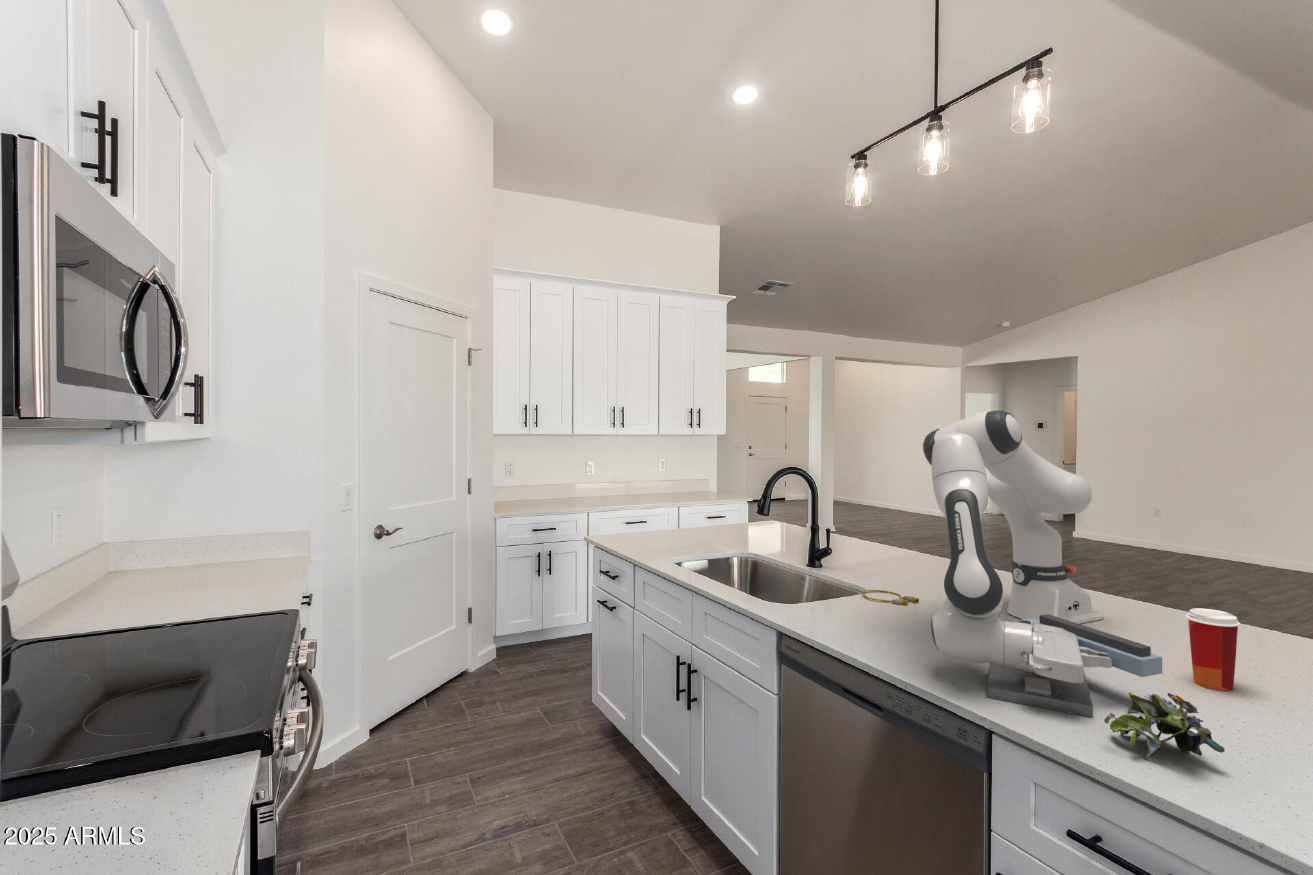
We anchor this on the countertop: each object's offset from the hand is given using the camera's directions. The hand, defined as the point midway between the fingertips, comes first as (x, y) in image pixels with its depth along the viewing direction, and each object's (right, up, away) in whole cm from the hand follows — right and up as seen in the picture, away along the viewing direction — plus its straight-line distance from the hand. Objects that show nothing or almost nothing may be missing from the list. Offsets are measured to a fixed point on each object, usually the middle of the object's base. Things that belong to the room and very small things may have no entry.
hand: (1111, 660), depth 108 cm
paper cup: (+25, -8, +7) cm, 27 cm away
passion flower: (-5, -8, -17) cm, 19 cm away
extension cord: (-14, -8, +69) cm, 71 cm away
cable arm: (+1, -4, +9) cm, 10 cm away
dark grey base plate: (-7, -8, +10) cm, 15 cm away
